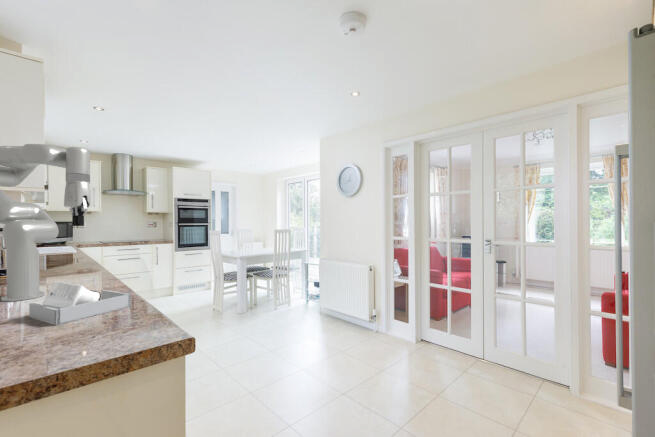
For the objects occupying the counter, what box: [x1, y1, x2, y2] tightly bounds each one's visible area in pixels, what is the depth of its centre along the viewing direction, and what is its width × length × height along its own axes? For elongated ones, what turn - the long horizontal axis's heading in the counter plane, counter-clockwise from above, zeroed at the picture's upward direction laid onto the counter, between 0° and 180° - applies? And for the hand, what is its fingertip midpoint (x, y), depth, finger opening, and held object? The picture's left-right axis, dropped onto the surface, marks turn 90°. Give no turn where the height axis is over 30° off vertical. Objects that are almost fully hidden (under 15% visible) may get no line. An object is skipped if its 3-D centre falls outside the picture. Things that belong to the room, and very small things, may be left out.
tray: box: [28, 289, 132, 326], centre depth 105 cm, size 17×22×4 cm
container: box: [42, 280, 101, 309], centre depth 102 cm, size 8×8×13 cm
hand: (78, 225), depth 122 cm, fingers closed
